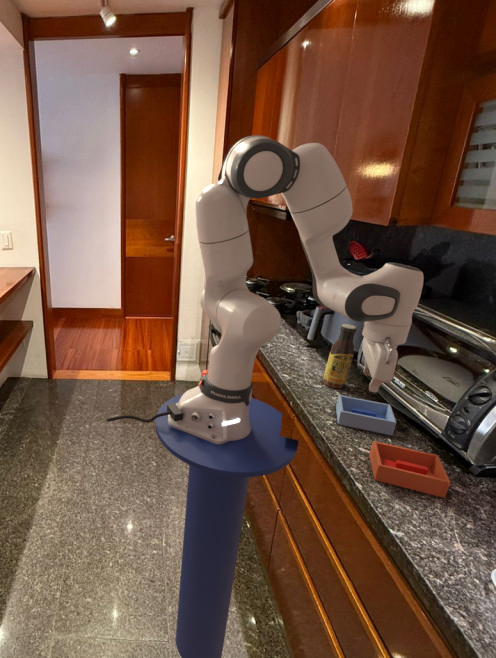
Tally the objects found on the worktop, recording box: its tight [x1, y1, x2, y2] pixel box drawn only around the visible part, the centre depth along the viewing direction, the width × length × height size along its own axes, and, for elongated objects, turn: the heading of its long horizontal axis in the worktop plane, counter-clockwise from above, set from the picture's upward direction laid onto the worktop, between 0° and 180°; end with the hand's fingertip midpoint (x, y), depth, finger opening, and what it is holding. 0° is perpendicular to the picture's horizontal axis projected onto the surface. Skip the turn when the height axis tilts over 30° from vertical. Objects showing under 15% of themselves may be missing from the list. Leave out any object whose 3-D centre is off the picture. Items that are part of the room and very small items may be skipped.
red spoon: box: [382, 460, 428, 475], centre depth 85 cm, size 8×3×2 cm, turn 64°
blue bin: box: [335, 394, 397, 437], centre depth 104 cm, size 12×9×4 cm
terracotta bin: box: [368, 440, 451, 499], centre depth 84 cm, size 12×9×4 cm
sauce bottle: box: [322, 323, 357, 389], centre depth 119 cm, size 7×6×20 cm
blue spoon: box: [351, 408, 386, 419], centre depth 103 cm, size 8×3×2 cm, turn 64°
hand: (369, 382), depth 97 cm, fingers open, 8 cm apart
